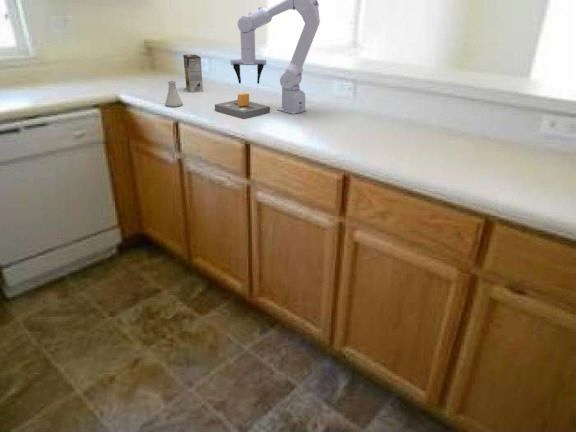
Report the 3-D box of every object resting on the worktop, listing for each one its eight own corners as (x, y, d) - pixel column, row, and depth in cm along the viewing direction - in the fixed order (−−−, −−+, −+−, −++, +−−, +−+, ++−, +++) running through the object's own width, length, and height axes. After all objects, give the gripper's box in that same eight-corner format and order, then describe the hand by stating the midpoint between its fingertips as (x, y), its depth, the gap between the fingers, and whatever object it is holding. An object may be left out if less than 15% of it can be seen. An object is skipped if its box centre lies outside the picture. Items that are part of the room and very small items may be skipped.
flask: (161, 106, 189) (159, 81, 185) (173, 102, 195) (170, 79, 190) (175, 108, 186) (172, 83, 182) (186, 104, 192) (184, 80, 187)
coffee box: (185, 89, 221) (182, 54, 214) (198, 88, 224) (196, 54, 216) (190, 92, 214) (187, 57, 207) (203, 91, 216) (201, 56, 209)
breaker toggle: (249, 104, 181) (249, 93, 179) (241, 106, 179) (241, 95, 177) (245, 103, 183) (245, 92, 181) (238, 105, 180) (237, 94, 178)
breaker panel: (269, 112, 182) (269, 106, 180) (244, 118, 172) (243, 111, 171) (240, 105, 193) (240, 98, 191) (214, 110, 183) (214, 103, 182)
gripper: (266, 47, 184) (266, 81, 190) (230, 47, 184) (232, 81, 190) (265, 49, 178) (266, 84, 184) (229, 49, 177) (231, 84, 184)
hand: (249, 83), depth 187 cm, fingers open, 7 cm apart
